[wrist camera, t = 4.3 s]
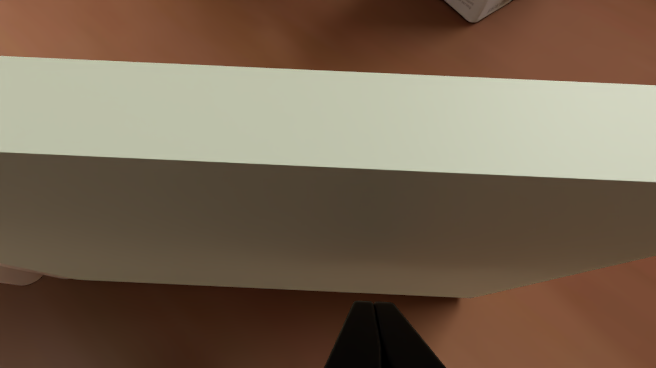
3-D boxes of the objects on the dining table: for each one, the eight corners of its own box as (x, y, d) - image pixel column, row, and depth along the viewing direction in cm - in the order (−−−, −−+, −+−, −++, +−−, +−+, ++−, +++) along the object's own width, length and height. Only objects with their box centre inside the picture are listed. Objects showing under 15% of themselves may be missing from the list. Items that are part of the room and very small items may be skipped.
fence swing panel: (49, 278, 15) (-763, 116, 4) (59, 249, 15) (-638, 27, 4) (471, 298, 15) (922, 193, 4) (468, 268, 15) (861, 95, 4)
